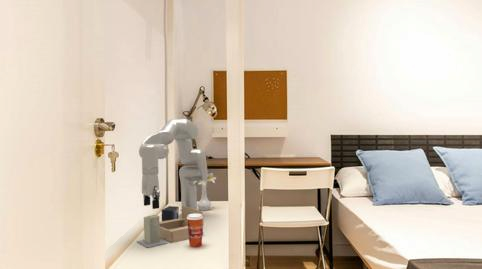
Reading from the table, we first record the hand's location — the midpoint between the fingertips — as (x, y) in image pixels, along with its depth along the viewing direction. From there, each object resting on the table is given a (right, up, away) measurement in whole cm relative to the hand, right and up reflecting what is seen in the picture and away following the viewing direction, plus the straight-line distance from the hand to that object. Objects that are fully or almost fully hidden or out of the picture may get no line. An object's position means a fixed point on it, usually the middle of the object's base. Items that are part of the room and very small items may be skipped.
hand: (151, 206), depth 177 cm
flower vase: (+17, -16, +72) cm, 76 cm away
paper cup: (+22, -17, -5) cm, 28 cm away
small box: (+3, -17, +30) cm, 35 cm away
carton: (+10, -17, +14) cm, 24 cm away
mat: (0, -17, 0) cm, 17 cm away
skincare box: (0, -17, 0) cm, 17 cm away
